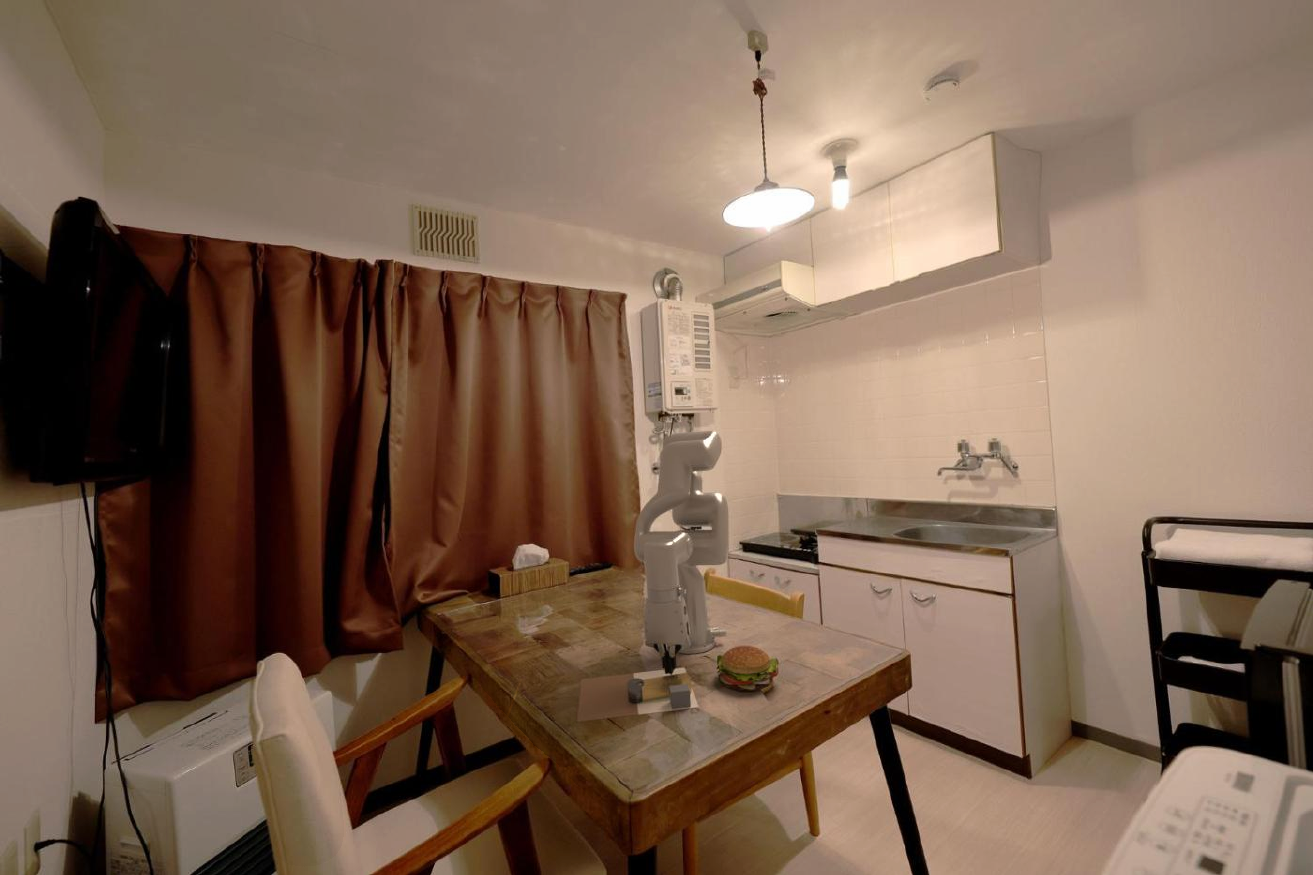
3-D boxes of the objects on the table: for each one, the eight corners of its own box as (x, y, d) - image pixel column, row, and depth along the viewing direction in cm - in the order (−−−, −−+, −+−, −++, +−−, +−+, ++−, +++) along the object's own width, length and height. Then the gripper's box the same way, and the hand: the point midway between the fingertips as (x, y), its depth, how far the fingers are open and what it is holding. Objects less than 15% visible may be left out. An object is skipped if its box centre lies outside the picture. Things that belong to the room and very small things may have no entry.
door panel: (684, 672, 125) (683, 653, 125) (698, 712, 106) (697, 690, 106) (581, 684, 122) (580, 664, 122) (577, 727, 103) (575, 704, 103)
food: (793, 686, 114) (790, 650, 114) (742, 705, 108) (740, 667, 108) (754, 664, 126) (751, 632, 126) (706, 680, 120) (704, 646, 120)
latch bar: (629, 704, 108) (628, 687, 108) (627, 696, 112) (625, 679, 112) (692, 693, 111) (690, 676, 111) (687, 685, 115) (686, 669, 115)
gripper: (698, 588, 119) (704, 665, 120) (637, 587, 123) (644, 661, 124) (692, 599, 112) (698, 681, 113) (627, 598, 116) (634, 677, 117)
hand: (670, 671), depth 118 cm, fingers closed
